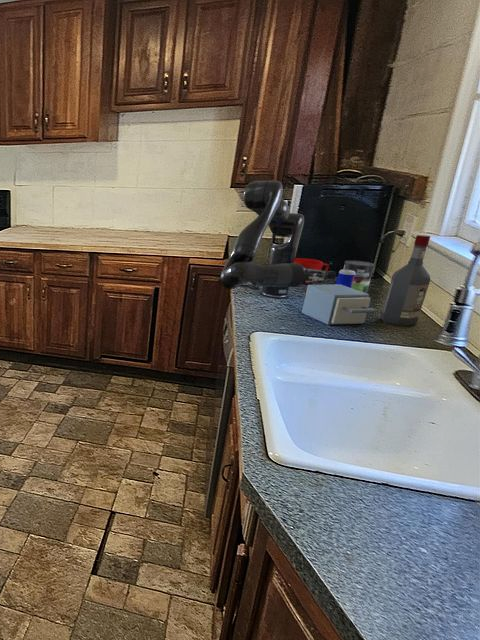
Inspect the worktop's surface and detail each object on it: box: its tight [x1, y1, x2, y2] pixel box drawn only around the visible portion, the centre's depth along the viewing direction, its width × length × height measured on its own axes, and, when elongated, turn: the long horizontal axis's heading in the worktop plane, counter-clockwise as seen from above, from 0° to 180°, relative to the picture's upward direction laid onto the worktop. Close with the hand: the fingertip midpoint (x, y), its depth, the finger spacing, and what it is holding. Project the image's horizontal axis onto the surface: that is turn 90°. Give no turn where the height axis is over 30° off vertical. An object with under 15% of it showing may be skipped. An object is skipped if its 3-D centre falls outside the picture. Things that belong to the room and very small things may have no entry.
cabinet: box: [301, 283, 370, 326], centre depth 188 cm, size 15×13×11 cm
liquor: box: [380, 234, 431, 327], centre depth 181 cm, size 9×9×30 cm
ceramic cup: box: [294, 257, 330, 285], centre depth 239 cm, size 13×17×10 cm
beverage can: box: [335, 268, 355, 288], centre depth 197 cm, size 5×5×15 cm
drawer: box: [331, 296, 376, 325], centre depth 184 cm, size 18×11×9 cm, turn 5°
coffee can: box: [343, 260, 376, 294], centre depth 216 cm, size 10×10×14 cm
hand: (334, 274), depth 172 cm, fingers closed
